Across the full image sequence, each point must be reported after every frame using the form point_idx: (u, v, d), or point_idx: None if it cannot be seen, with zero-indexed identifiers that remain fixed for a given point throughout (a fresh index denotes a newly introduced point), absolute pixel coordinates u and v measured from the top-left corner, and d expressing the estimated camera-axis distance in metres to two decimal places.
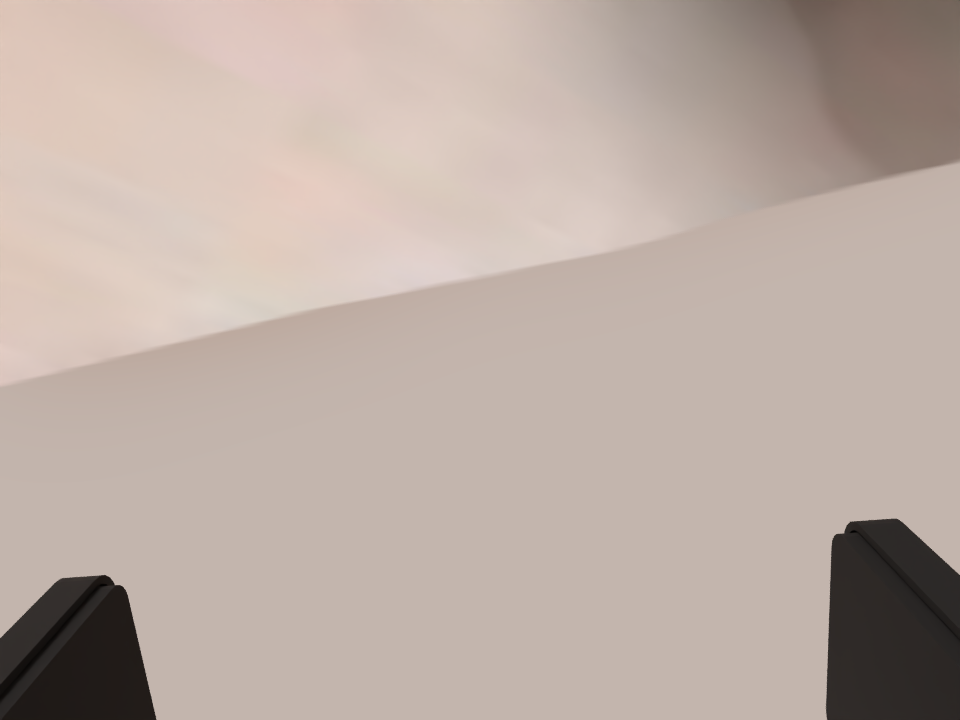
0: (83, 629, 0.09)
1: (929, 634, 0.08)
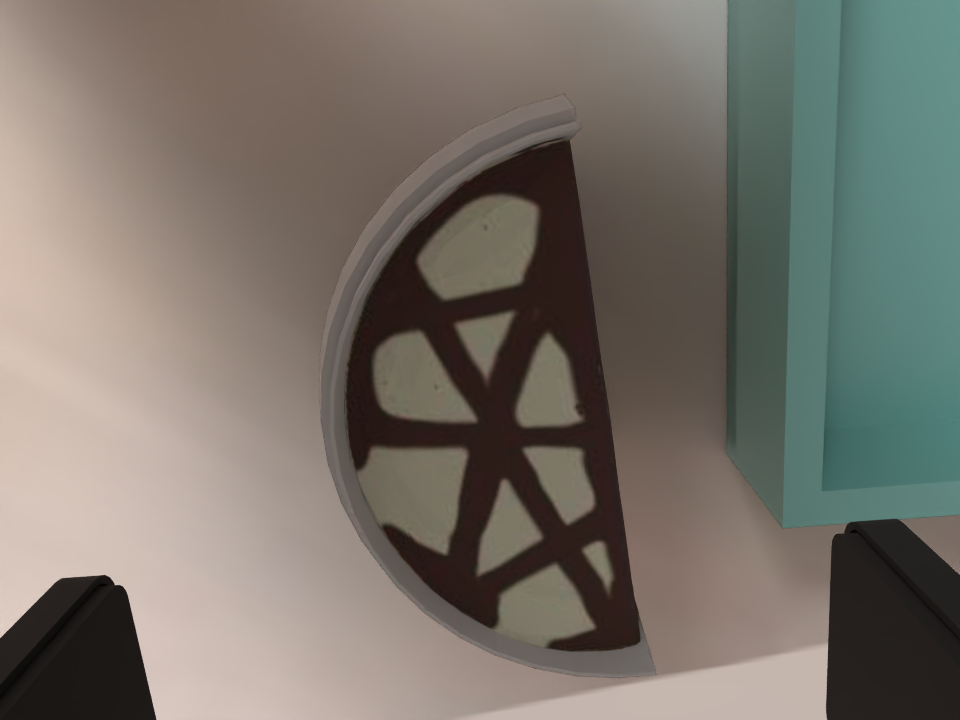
0: (83, 629, 0.09)
1: (929, 634, 0.08)
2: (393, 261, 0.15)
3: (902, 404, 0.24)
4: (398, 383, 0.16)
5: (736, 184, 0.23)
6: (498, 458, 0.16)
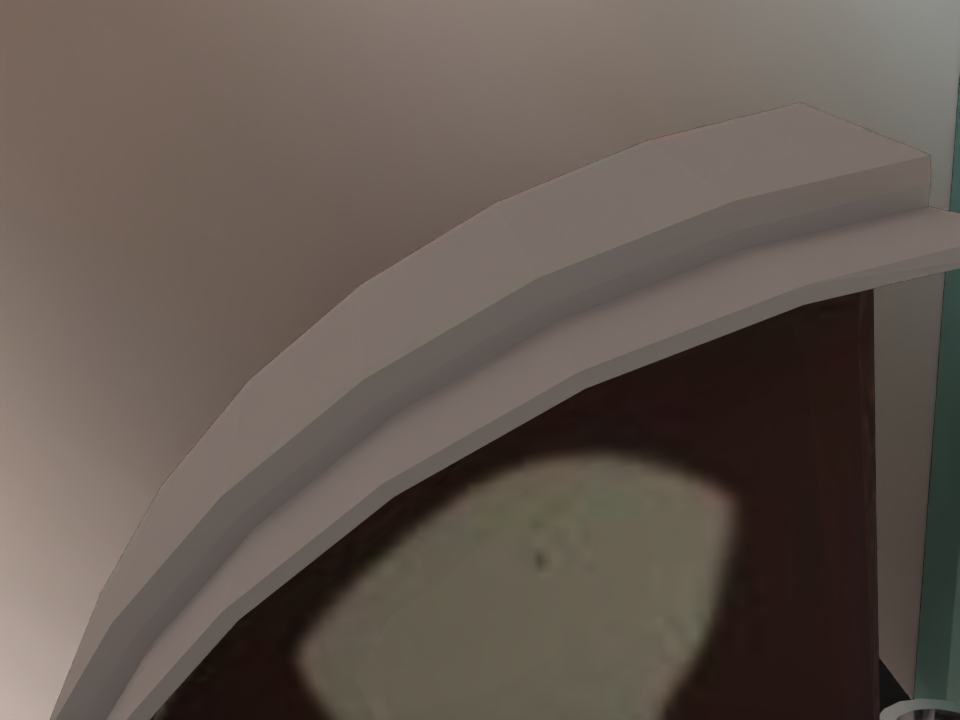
0: None
1: None
2: (214, 666, 0.04)
3: None
4: None
5: None
6: None
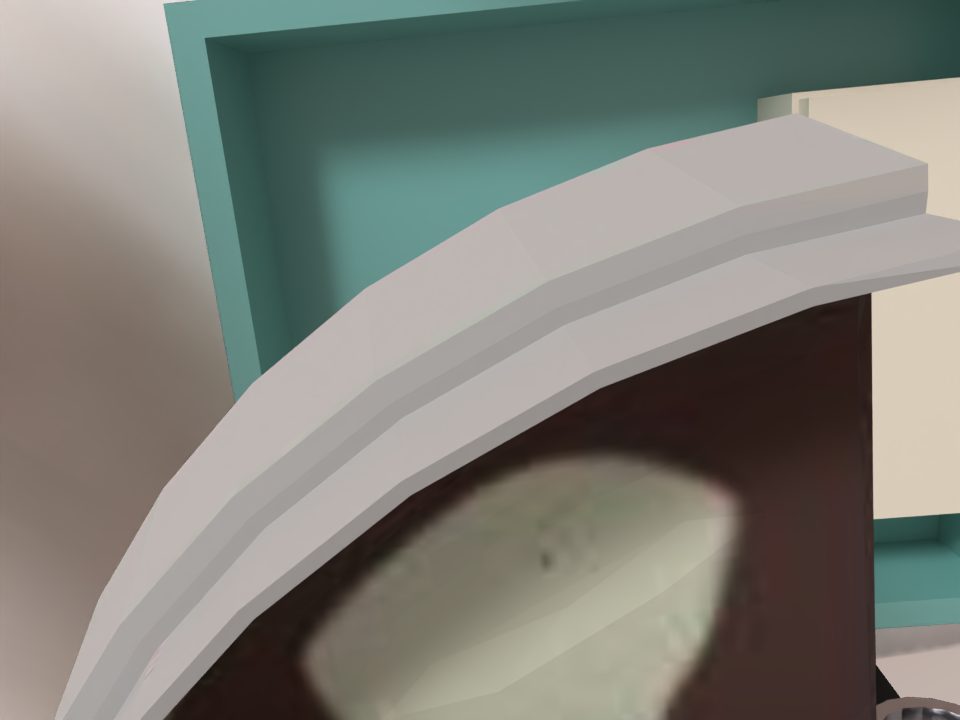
0: None
1: None
2: (219, 670, 0.04)
3: None
4: None
5: None
6: None
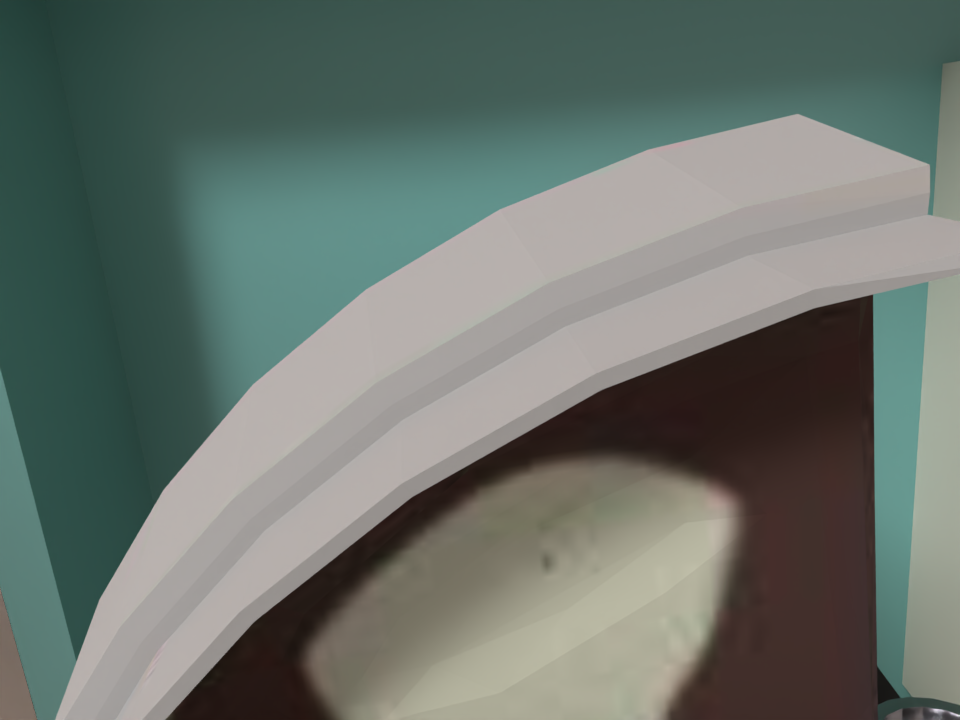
0: None
1: None
2: (222, 669, 0.04)
3: None
4: None
5: None
6: None
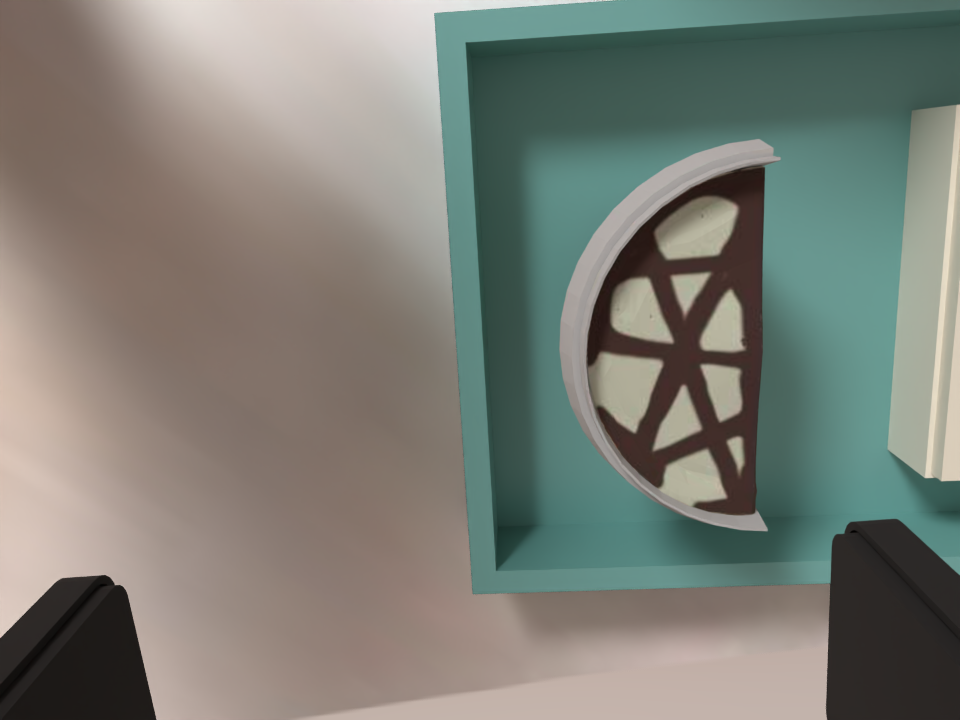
0: (83, 629, 0.09)
1: (929, 634, 0.08)
2: (640, 230, 0.23)
3: (588, 510, 0.35)
4: (626, 311, 0.24)
5: None
6: (682, 369, 0.24)
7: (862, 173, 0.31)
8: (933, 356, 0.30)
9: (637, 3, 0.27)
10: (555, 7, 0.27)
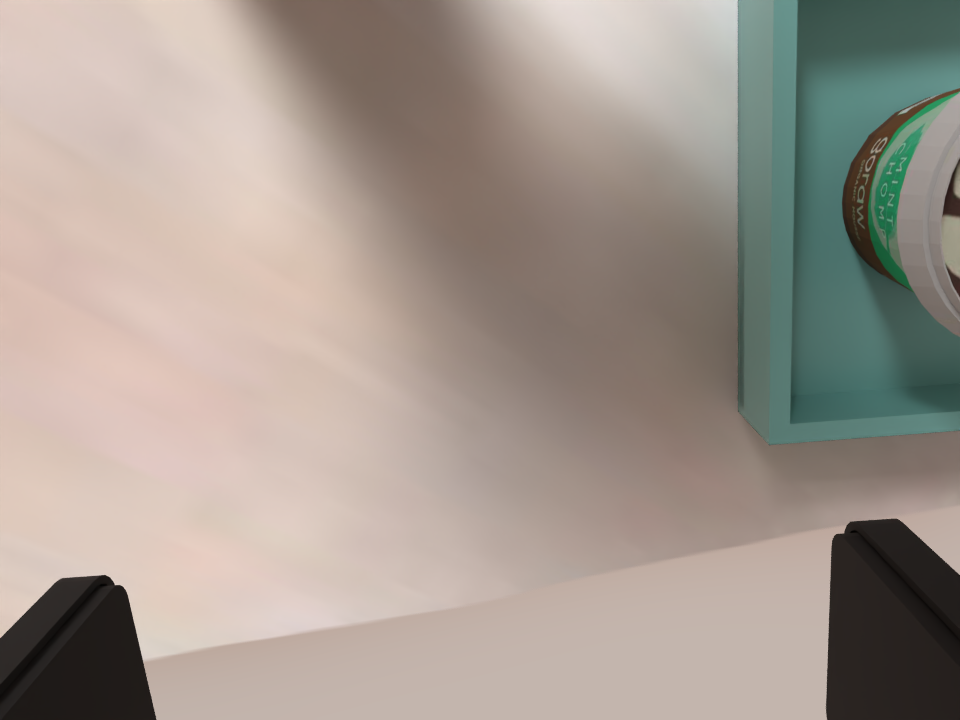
0: (83, 629, 0.09)
1: (929, 634, 0.08)
2: None
3: (840, 380, 0.42)
4: None
5: (743, 255, 0.40)
6: None
7: None
8: None
9: None
10: None
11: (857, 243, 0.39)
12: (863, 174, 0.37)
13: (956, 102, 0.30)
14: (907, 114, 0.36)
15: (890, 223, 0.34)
